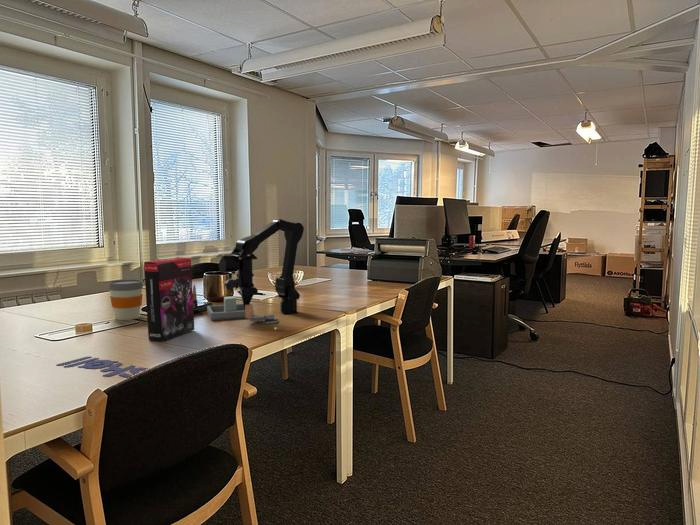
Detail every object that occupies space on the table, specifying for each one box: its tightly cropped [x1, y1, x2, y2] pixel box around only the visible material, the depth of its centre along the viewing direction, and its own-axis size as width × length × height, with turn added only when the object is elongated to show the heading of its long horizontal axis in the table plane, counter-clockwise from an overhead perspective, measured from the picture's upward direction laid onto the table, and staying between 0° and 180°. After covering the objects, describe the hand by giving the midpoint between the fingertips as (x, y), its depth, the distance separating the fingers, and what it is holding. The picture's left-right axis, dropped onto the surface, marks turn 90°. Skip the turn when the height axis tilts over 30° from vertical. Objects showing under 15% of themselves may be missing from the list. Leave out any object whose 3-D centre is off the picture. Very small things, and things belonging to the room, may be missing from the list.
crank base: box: [260, 317, 279, 331], centre depth 187 cm, size 7×16×1 cm, turn 22°
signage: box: [55, 356, 149, 379], centre depth 135 cm, size 28×1×10 cm
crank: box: [244, 303, 275, 322], centre depth 190 cm, size 12×4×6 cm, turn 112°
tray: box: [206, 303, 246, 322], centre depth 203 cm, size 17×16×3 cm
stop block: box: [223, 295, 237, 312], centre depth 203 cm, size 4×4×7 cm
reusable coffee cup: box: [108, 279, 144, 321], centre depth 196 cm, size 13×13×15 cm
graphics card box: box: [143, 256, 195, 342], centre depth 169 cm, size 17×7×27 cm, turn 159°
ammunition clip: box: [192, 283, 199, 308], centre depth 206 cm, size 11×2×12 cm, turn 143°
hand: (245, 308), depth 195 cm, fingers closed
